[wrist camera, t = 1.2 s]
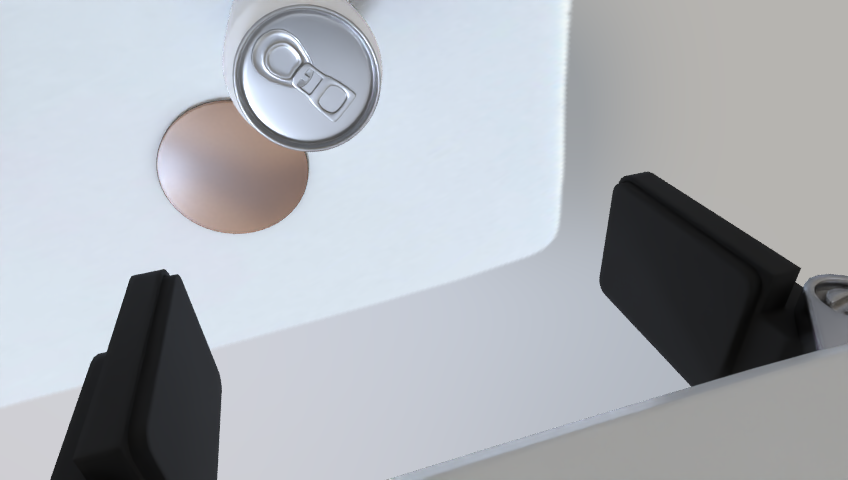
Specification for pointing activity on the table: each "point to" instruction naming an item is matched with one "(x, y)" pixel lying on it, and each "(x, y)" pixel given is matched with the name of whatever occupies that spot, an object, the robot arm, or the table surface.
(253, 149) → the coaster
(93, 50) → the table surface
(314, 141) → the can
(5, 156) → the table surface
